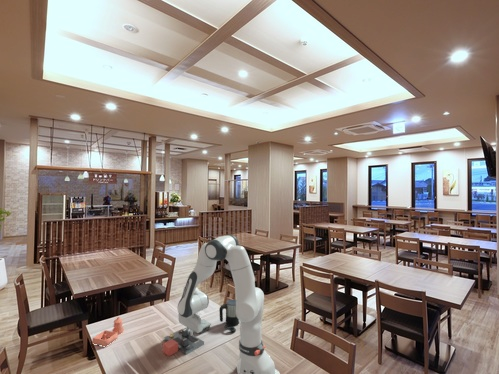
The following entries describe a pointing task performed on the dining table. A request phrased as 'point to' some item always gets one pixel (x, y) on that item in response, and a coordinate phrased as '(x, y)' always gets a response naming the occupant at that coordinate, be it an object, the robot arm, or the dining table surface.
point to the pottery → (109, 334)
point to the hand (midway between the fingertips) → (190, 334)
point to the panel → (193, 340)
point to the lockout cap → (170, 347)
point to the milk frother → (229, 315)
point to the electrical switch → (205, 326)
